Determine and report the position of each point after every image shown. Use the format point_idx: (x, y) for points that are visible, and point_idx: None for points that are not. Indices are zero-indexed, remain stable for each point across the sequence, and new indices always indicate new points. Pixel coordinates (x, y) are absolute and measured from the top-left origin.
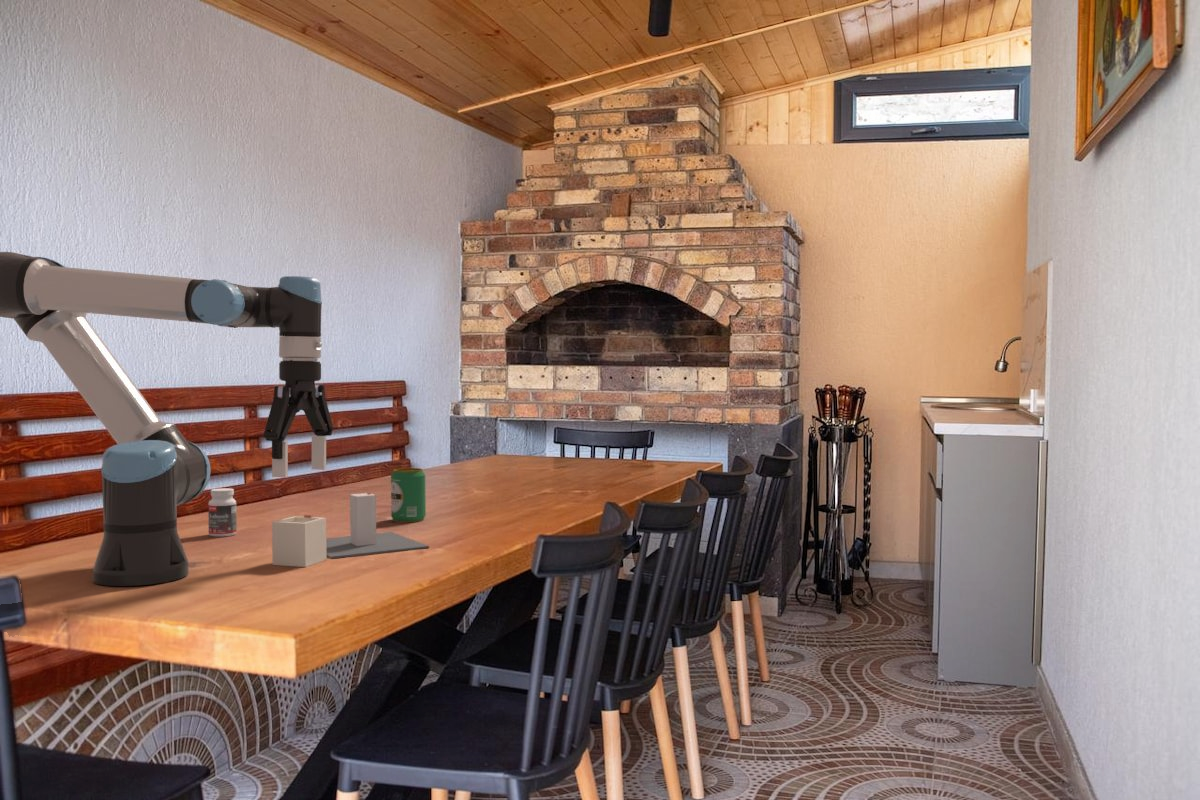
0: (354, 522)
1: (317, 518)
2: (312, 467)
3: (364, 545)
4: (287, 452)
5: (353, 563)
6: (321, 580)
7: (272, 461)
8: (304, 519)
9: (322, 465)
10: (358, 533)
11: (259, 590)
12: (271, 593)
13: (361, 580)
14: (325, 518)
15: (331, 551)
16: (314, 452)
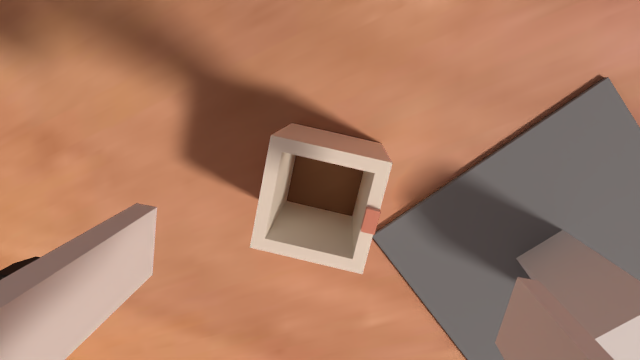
0: (566, 274)
1: (355, 250)
2: (519, 287)
3: (522, 273)
4: (63, 356)
5: (323, 295)
6: (156, 279)
7: (84, 234)
8: (366, 204)
9: (507, 349)
10: (532, 275)
11: (55, 194)
12: (39, 225)
13: (168, 348)
14: (359, 272)
15: (438, 217)
16: (561, 357)
